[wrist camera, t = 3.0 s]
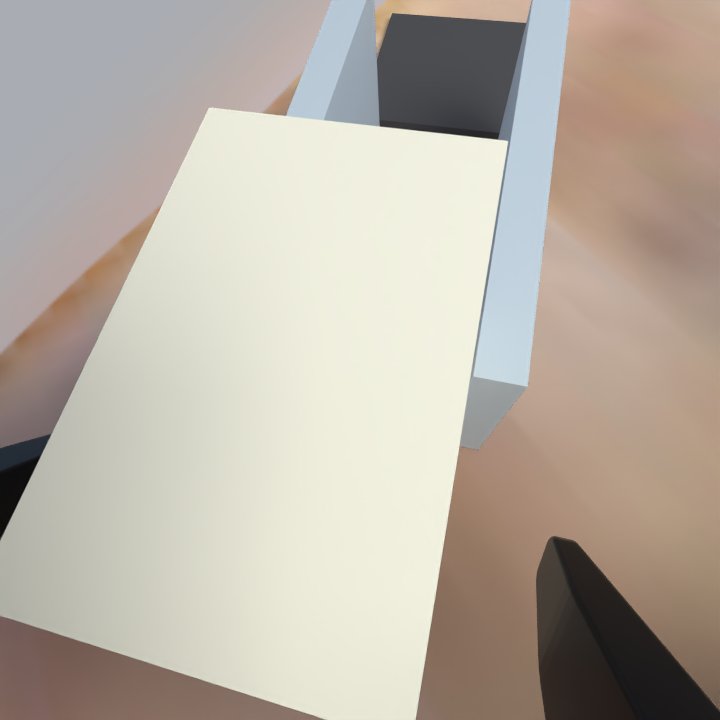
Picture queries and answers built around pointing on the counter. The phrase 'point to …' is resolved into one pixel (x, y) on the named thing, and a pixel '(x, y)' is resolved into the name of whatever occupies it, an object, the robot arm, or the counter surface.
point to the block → (272, 418)
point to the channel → (517, 194)
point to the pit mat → (447, 74)
